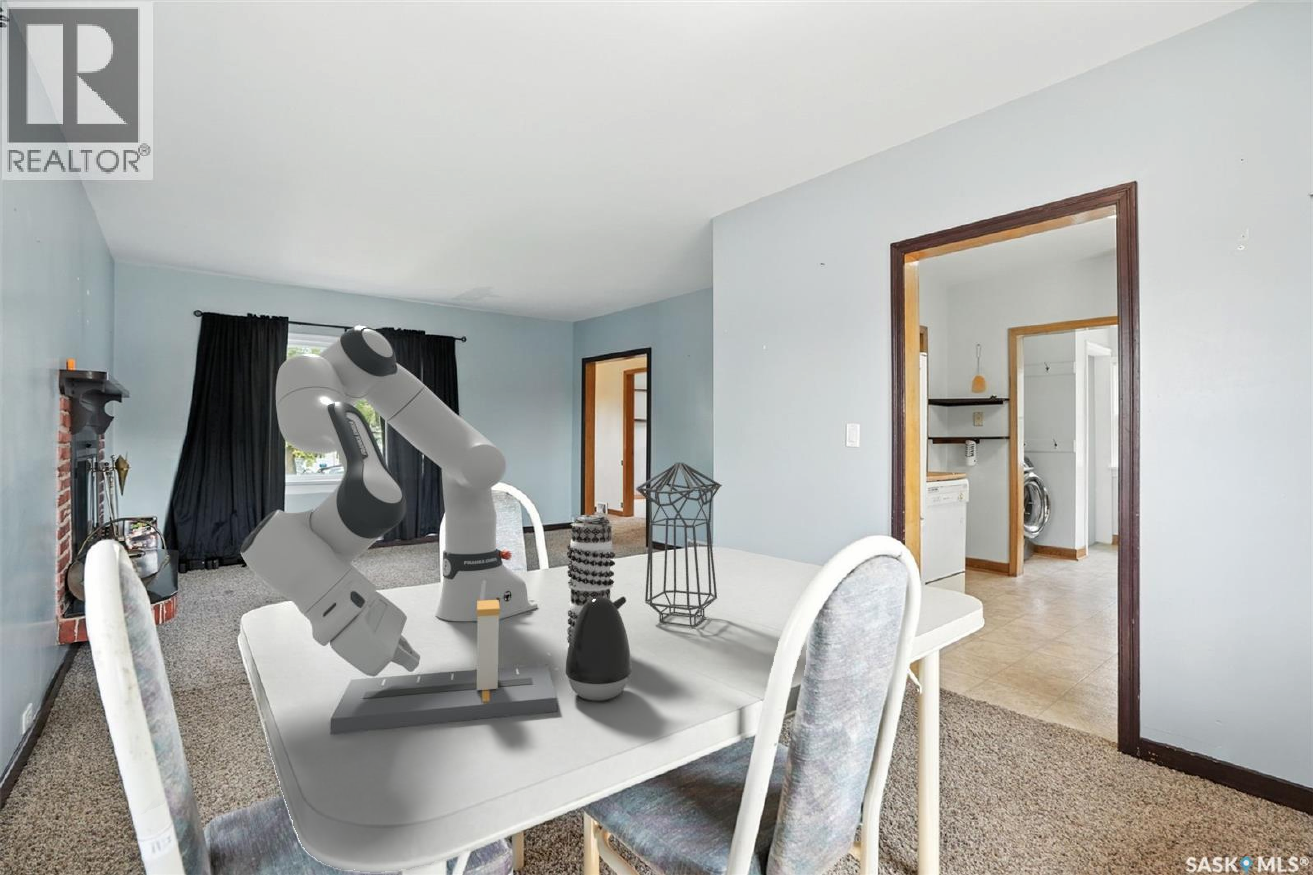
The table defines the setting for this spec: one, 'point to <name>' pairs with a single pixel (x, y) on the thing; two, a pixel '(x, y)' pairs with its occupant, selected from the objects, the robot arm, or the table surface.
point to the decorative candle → (589, 563)
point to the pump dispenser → (599, 651)
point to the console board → (442, 698)
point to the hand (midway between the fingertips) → (416, 665)
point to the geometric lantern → (667, 478)
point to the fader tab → (487, 644)
